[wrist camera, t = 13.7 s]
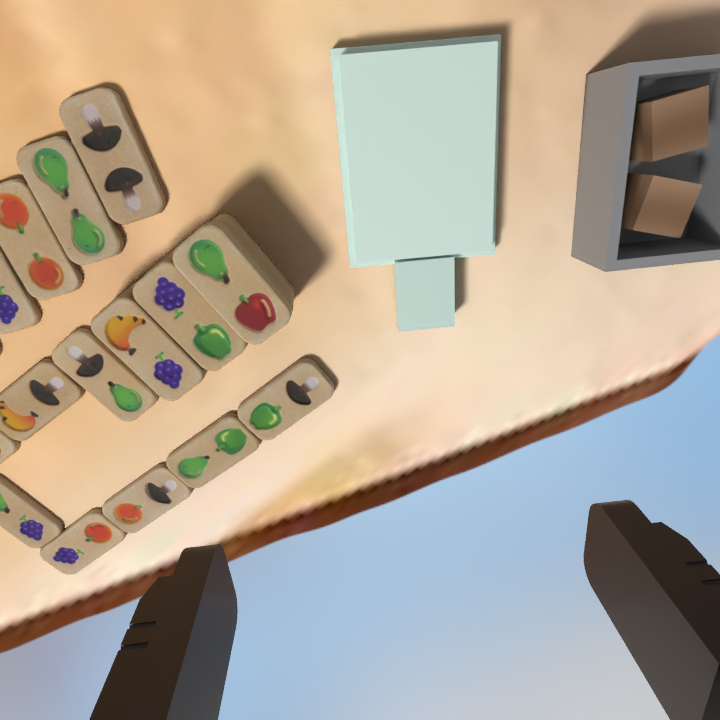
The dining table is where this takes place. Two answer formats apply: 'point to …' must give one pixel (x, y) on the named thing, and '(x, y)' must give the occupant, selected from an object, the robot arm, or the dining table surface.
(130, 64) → the dining table surface
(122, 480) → the dining table surface
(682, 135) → the walnut block
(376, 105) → the lid
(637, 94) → the tub
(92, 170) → the pile of dominoes
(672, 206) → the walnut block
